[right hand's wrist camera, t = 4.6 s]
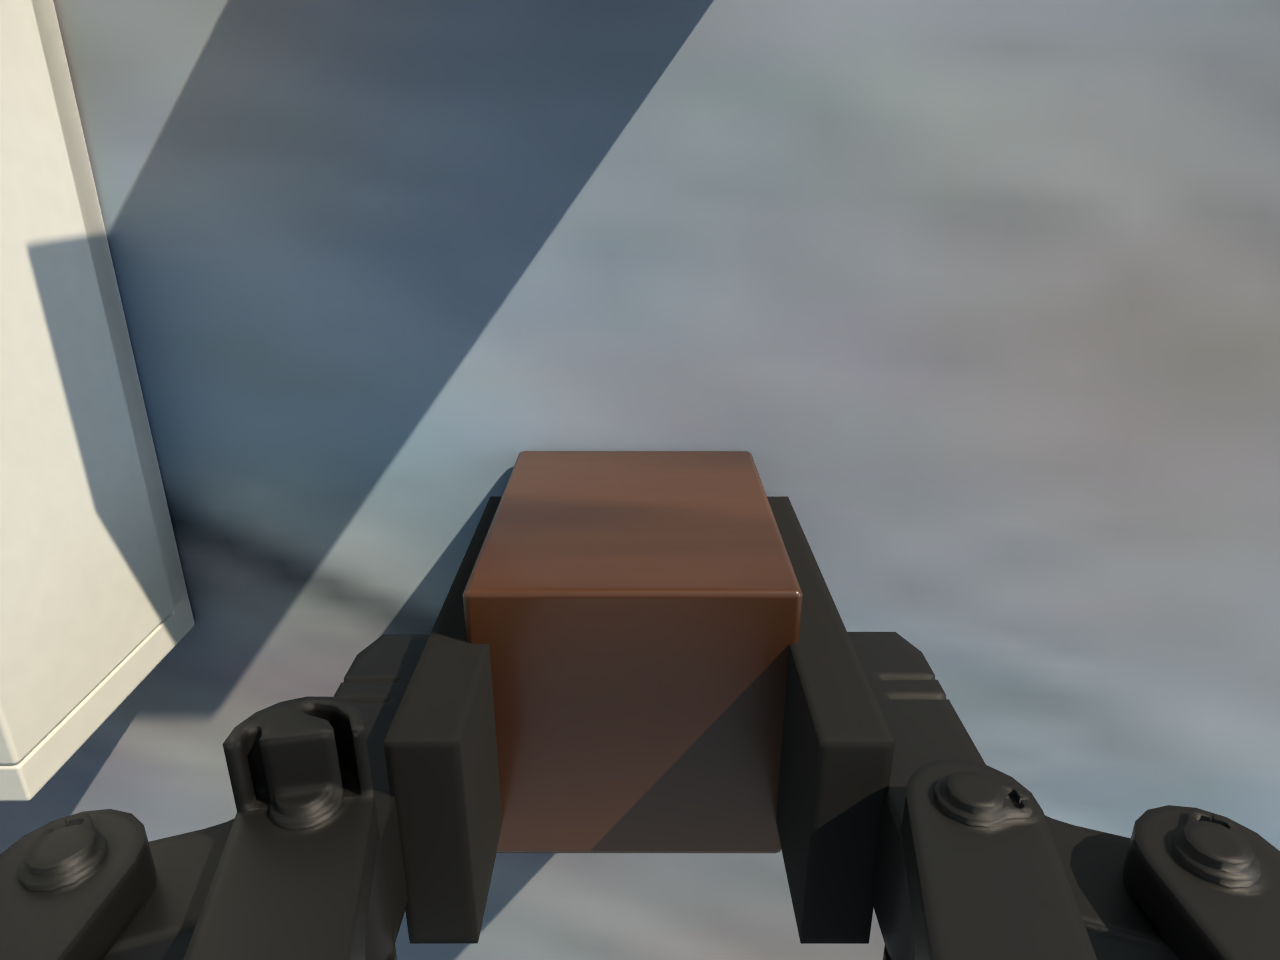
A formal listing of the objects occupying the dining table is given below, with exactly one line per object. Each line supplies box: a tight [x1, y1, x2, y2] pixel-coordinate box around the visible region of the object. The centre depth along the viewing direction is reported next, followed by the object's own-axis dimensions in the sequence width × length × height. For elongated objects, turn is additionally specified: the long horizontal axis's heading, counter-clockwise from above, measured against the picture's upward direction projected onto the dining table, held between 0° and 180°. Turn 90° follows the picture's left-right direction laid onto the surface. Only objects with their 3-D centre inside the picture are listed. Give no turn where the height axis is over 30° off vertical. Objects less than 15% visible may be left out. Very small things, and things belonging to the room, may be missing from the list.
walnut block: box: [463, 451, 803, 853], centre depth 13 cm, size 4×4×5 cm
